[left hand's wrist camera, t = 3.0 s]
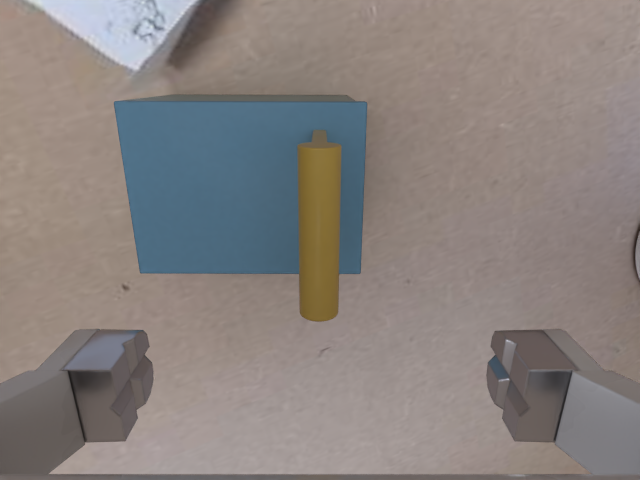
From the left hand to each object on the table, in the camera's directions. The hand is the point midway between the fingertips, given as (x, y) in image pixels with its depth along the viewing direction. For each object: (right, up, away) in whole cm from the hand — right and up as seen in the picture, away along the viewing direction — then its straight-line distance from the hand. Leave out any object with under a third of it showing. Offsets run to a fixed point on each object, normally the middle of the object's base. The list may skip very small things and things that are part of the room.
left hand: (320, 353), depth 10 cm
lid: (-4, +6, +15) cm, 16 cm away
